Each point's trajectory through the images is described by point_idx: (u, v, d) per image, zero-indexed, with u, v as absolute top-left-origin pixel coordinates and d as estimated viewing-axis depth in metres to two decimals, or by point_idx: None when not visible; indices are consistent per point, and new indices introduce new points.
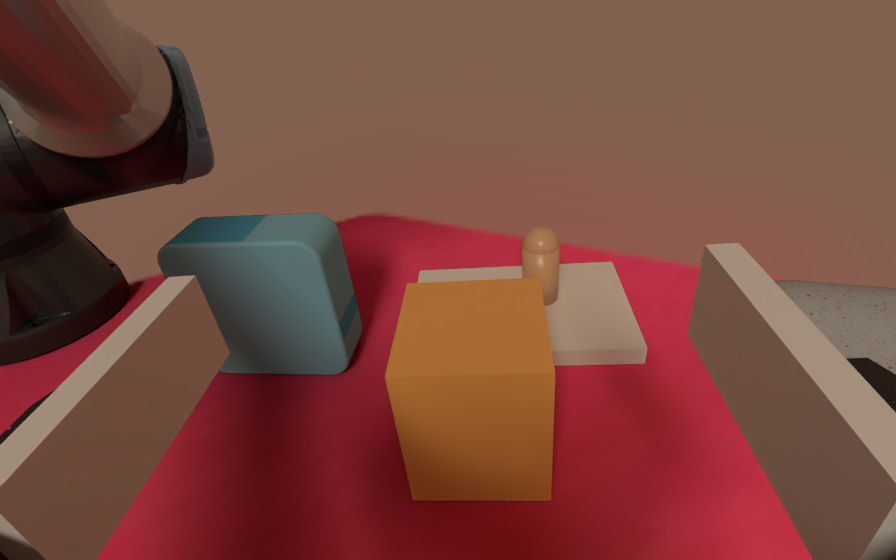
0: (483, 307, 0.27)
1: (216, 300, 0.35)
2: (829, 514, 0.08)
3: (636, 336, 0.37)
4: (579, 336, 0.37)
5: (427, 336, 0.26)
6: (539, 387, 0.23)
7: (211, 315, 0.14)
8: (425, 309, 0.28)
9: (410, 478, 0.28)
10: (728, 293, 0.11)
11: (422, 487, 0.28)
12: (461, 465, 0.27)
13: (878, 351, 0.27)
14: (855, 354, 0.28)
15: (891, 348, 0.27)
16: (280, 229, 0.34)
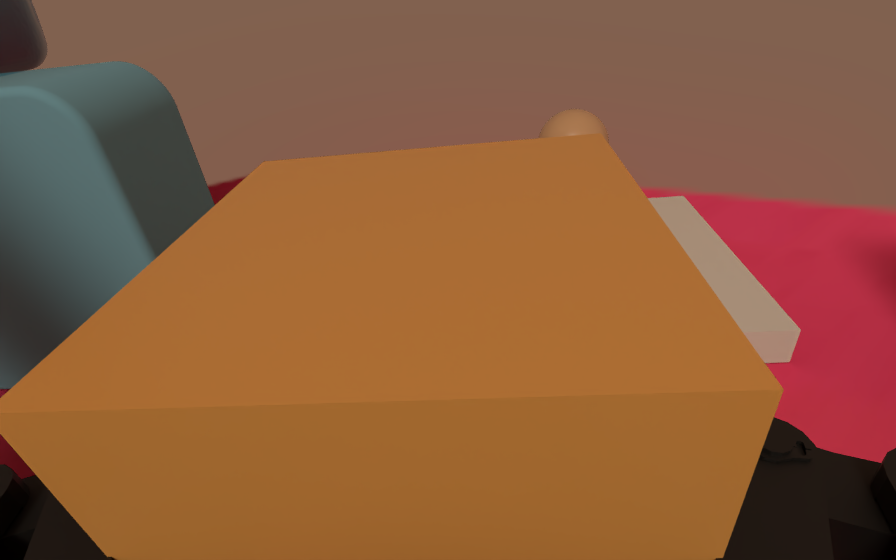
0: (448, 191, 0.09)
1: None
2: None
3: (769, 308, 0.18)
4: None
5: (249, 264, 0.07)
6: (683, 458, 0.05)
7: None
8: (280, 203, 0.09)
9: None
10: None
11: None
12: None
13: None
14: None
15: None
16: (24, 78, 0.16)
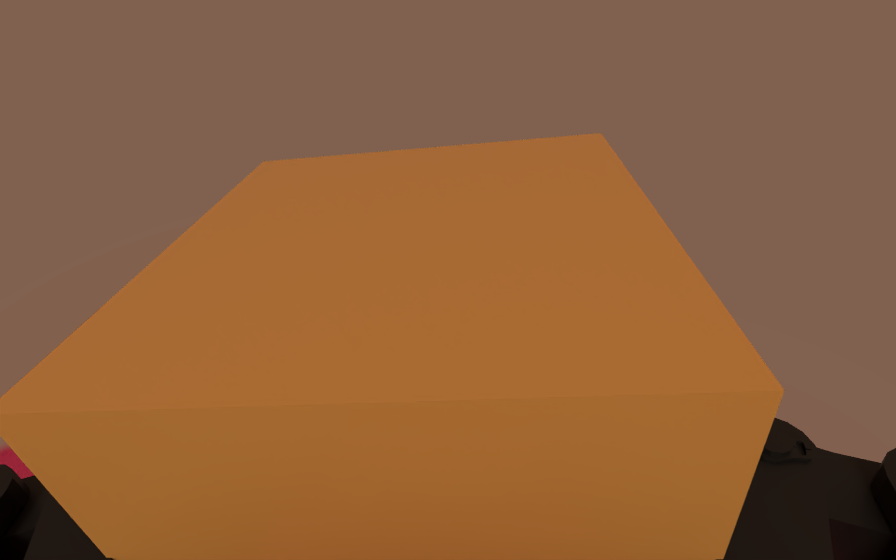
0: (448, 191, 0.09)
1: None
2: None
3: None
4: None
5: (249, 265, 0.07)
6: (684, 459, 0.05)
7: None
8: (280, 203, 0.09)
9: None
10: None
11: None
12: None
13: None
14: None
15: None
16: None
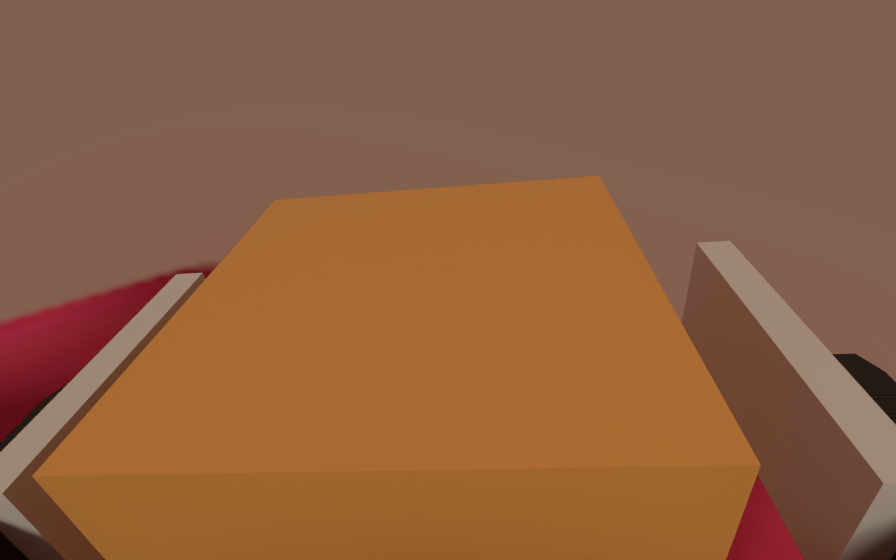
0: (453, 239, 0.10)
1: None
2: (814, 507, 0.08)
3: None
4: None
5: (268, 318, 0.08)
6: (672, 519, 0.05)
7: None
8: (294, 249, 0.10)
9: None
10: (719, 290, 0.11)
11: None
12: None
13: None
14: None
15: None
16: None
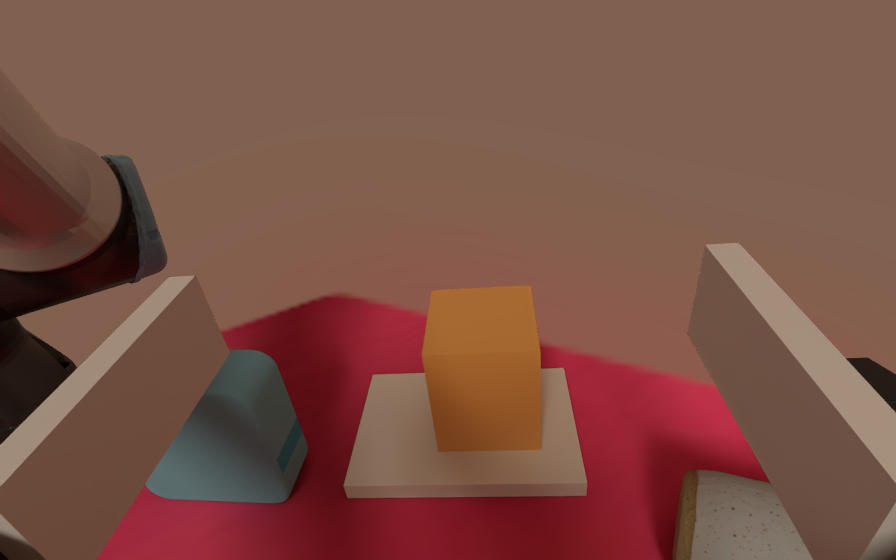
0: (489, 307, 0.37)
1: None
2: (829, 514, 0.08)
3: (578, 467, 0.36)
4: (521, 466, 0.37)
5: (449, 328, 0.36)
6: (529, 361, 0.33)
7: (211, 315, 0.14)
8: (447, 309, 0.38)
9: (437, 433, 0.38)
10: (728, 293, 0.11)
11: (445, 440, 0.38)
12: (474, 422, 0.37)
13: None
14: None
15: None
16: None
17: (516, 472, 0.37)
